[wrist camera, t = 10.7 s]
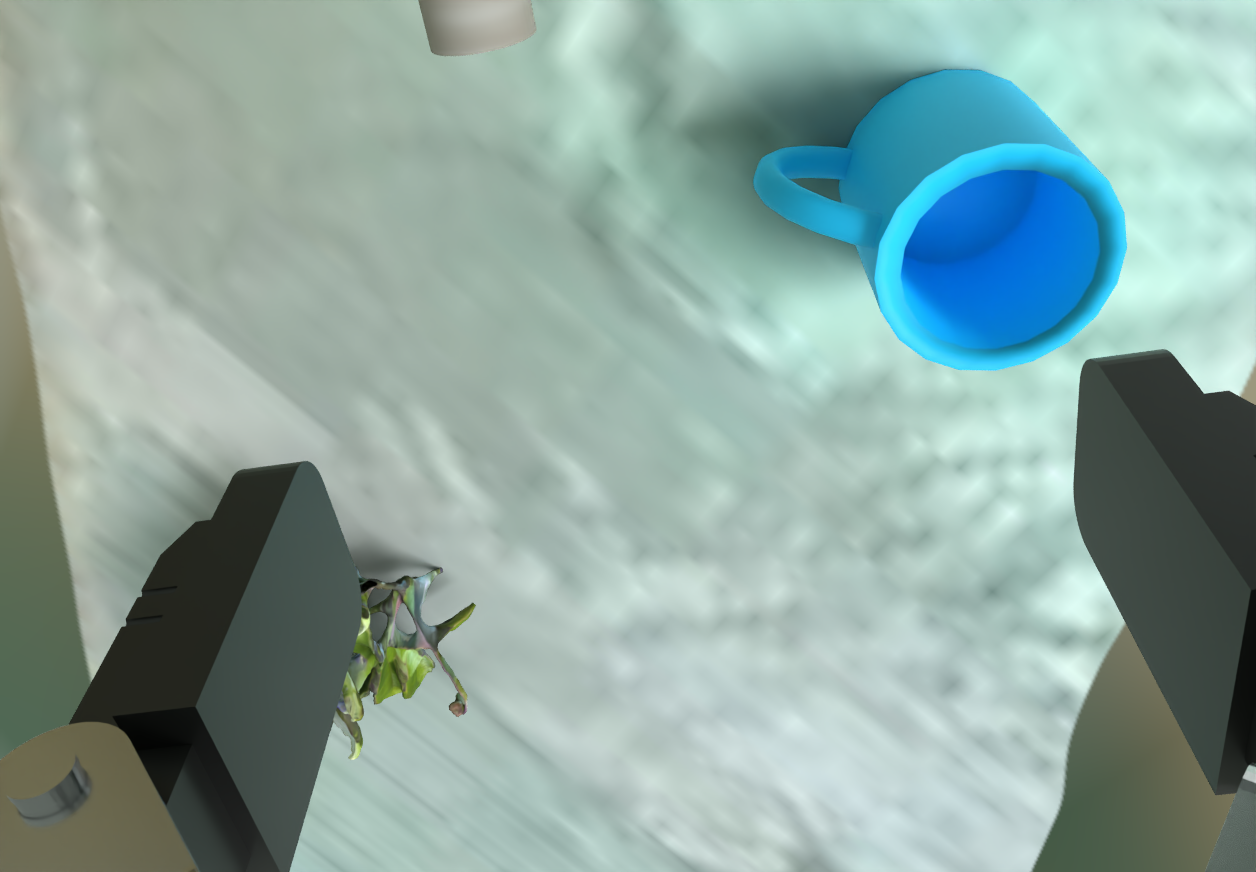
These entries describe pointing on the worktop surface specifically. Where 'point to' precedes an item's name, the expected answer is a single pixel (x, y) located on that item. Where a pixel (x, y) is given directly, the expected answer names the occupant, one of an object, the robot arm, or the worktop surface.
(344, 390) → the worktop surface
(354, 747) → the passion flower
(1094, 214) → the mug
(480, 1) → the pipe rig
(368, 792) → the worktop surface
